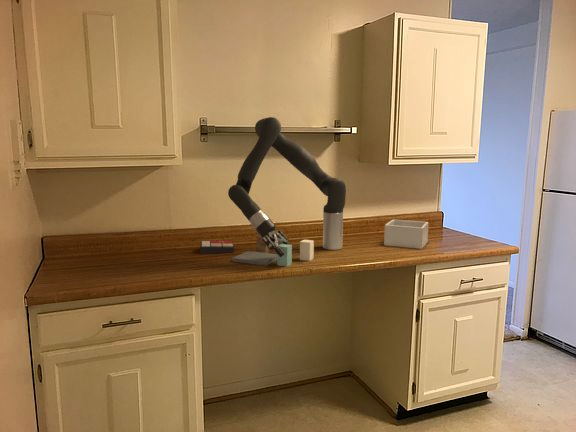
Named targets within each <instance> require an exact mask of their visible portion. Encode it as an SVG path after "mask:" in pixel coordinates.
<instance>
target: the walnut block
mask: <svg viewBox="0 0 576 432" xmlns="http://www.w3.org/2000/svg"><path fill="white" fill-rule="evenodd" d="M262 239H263V238H262V237H261V236H260V235H259V234H258V235H257V236H256V252H263V253H271V250H270V249H269V248H268V247H267V245H266V244H265V243H264V242H263V240H262ZM269 245H270V244H269Z"/></svg>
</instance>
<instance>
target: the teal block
mask: <svg viewBox="0 0 576 432" xmlns="http://www.w3.org/2000/svg"><path fill="white" fill-rule="evenodd" d="M278 247H280V249H281V250H282V251H283V252H284V255H283V256H282V257H280V256H279V255H278V254H277V253H276V254H277V260H276V261H277V263H276V265H277V266H278V267H279V266H281V267H289V266H291V265H292V264H293V262H292V261H293V258H292V257H293V251H292V248H293V244H289V245H287V244H278Z"/></svg>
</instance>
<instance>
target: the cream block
mask: <svg viewBox="0 0 576 432" xmlns="http://www.w3.org/2000/svg"><path fill="white" fill-rule="evenodd" d="M314 245H315V240H311V239H303V240H301V241H299V260H300V261H307V262H310V261H312V260H314V256H315V255H314V254H315V253H314V251H315V246H314Z"/></svg>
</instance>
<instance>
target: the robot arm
mask: <svg viewBox="0 0 576 432" xmlns="http://www.w3.org/2000/svg"><path fill="white" fill-rule="evenodd" d="M254 130H255V133H256V135H257V136H258V138H257V142H256V143H255V145H254V146H253V148H252V149H251V151H250V153H249V154H248V155H247V156H246V157H245V159H244V161H243V163H242V165H241V167H240V170H239V171H238V174H237V180H236V184H233V185H231V186H230V187H229V188H228V190H227V195H228V198H229V199H230V201H232V202H233V204H234V205H235V206H236V207H238V209H239V210H240V211H241V213H242V214H243V216H244V217H245V218H246V219H247V221H249V223H250V224H251V226H252V227H253V229H254V230H255V231H256V232H257V233H258V235H260V236H261V237H262V238H263V239H262V240H263V242H264V243H265V244H266V245H267V247H268V248H269V249H270V251H273V252H275V254H278V255H279V256H280V257H282V256H283V255H284V252H283V251H282V250H281V249H280V247H278V246H279V245H281V244H287V245H290V243H289V241H290V239H289V238H288V237H287V236H286V235H285V234H284V232H283V231H282V230H281V229H279V230H278V231H277V230H276V228H277V225H276V224H275V223H274V222H273V221H272V220H271V218H270V217H269V216H268V215H267V213H265V211H263V210H262V209H261V207H260V206H259V205H258V204H257V203H256V202H255V201H254V200H253V199H252V198H251V196H250V191H251V188H252V186H253V185H252V184H253V181H255V178H256V176H257V174H258V172H259V170H260V167H261V165H262V163H263V161H264V160H265V157H266V156H267V153H268V152H269V150H270V149H271V148H273V149H274V150H275V151H277V152H278V153H279V154H280V155H281V156H282V157H283V158H284V159H285V160H286V161H287V162H289V164H290V165H291V166H293V167H294V168H295V169H296V170H297V171H298V172H300V173H301V174H302V175H303V176H304V177H306V178H308V180H310V181H311V182H312V183H313V184H314V185H315V186H316V188H317V189H319V191H320V192H321V193H322V194H323V195H325V196H326V197H327V201H326V202H327V203H326V204H325V205H323V211H322V213H323V216H322V220H323V221H322V222H323V223H322V224H323V225H322V248H323V249H325V250H333V251H334V250H341V249H343V231H344V229H343V228H344V227H343V226H344V208H345V205H346V195H347V188H346V184H345V182H344V180H343V179H341V178H338V177H332V176H330V175H329V174H328V173H327V172H325V171H324V170H323V169H322V168H321V167H320V165H319V164H318V162H317V160H316V158H315V157H314V155H312V154H311V153H310V152H309V151H308V150H307V149H306V148H305V147H303V146H302V145H300V144H299V143H297V142H295V141H293V140H291V139H289V138H287V136H285V134H283V133H281V130H282V123H281V122H280V120H279V119H277V118H276V117H272V116H271V117H270V116H268V117H265V118H261V119H259V120H258V121H257V122H256V123H255V125H254ZM269 244H270V245H269ZM293 251H294V248H293V247H292V252H293Z"/></svg>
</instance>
